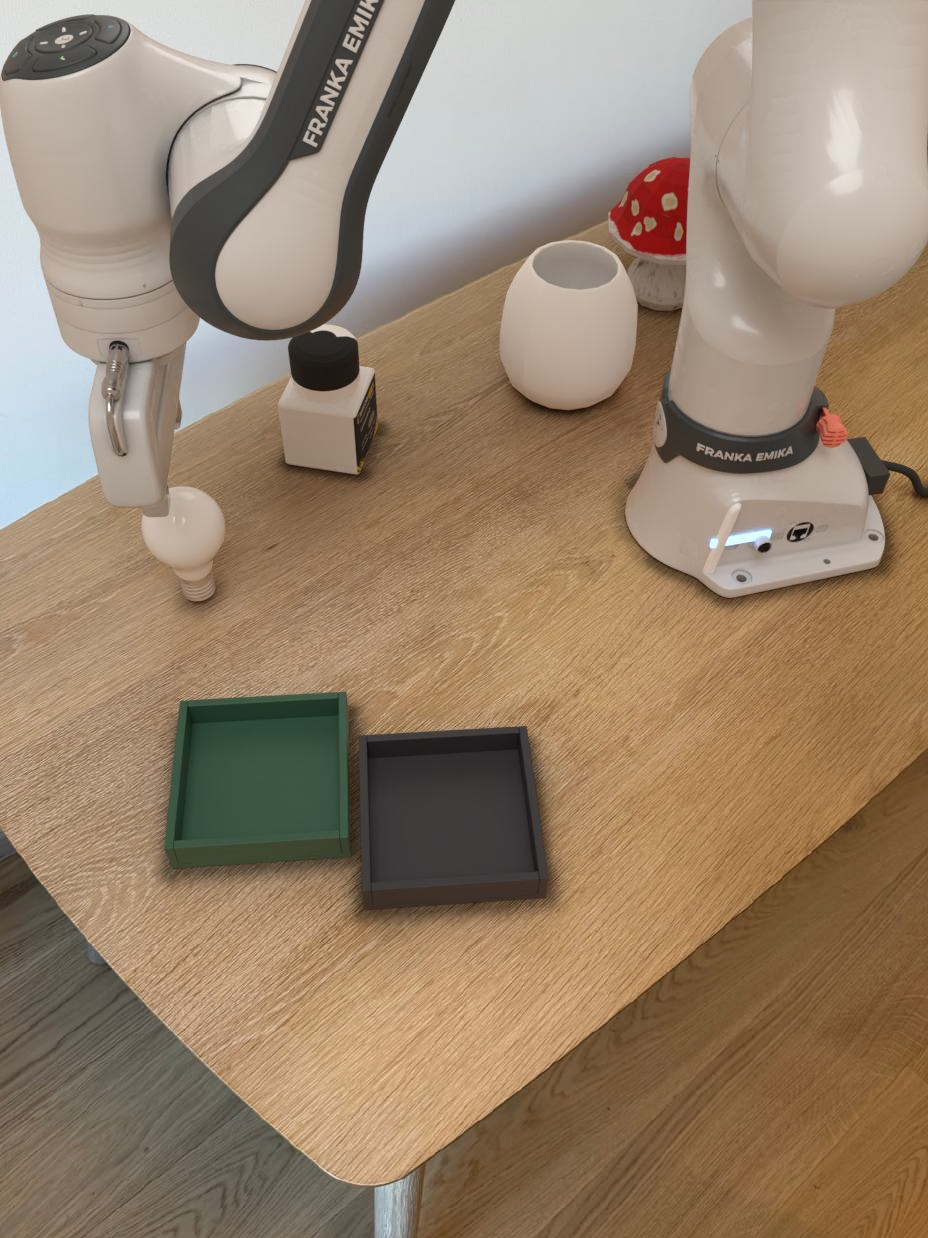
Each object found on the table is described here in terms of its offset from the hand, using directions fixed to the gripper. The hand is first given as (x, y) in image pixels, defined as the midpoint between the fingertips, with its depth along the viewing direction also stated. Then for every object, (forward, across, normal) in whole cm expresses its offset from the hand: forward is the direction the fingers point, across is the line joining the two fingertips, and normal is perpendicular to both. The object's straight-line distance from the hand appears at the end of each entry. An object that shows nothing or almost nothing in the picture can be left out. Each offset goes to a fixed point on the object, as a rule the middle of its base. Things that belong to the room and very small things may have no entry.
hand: (164, 465), depth 80 cm
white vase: (+14, +26, -34) cm, 45 cm away
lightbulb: (+14, 0, 0) cm, 14 cm away
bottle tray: (+14, -23, -19) cm, 33 cm away
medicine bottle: (+14, +18, -11) cm, 26 cm away
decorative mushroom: (+14, +41, -47) cm, 64 cm away
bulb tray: (+14, -19, -6) cm, 25 cm away
